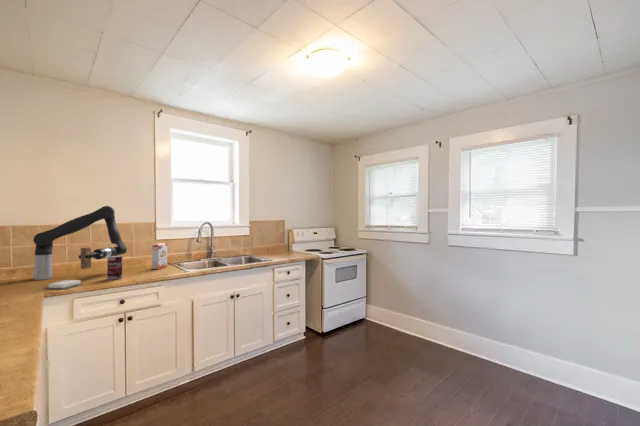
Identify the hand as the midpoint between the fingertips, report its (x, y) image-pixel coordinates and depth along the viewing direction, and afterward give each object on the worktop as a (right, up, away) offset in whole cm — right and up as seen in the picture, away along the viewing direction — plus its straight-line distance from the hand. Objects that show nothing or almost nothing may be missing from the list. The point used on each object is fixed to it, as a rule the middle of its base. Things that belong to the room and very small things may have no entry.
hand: (82, 257), depth 205 cm
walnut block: (0, -8, +3) cm, 8 cm away
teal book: (-1, -15, -7) cm, 17 cm away
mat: (-1, -17, -14) cm, 22 cm away
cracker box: (+25, -17, +52) cm, 60 cm away
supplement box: (+16, -17, +9) cm, 25 cm away
